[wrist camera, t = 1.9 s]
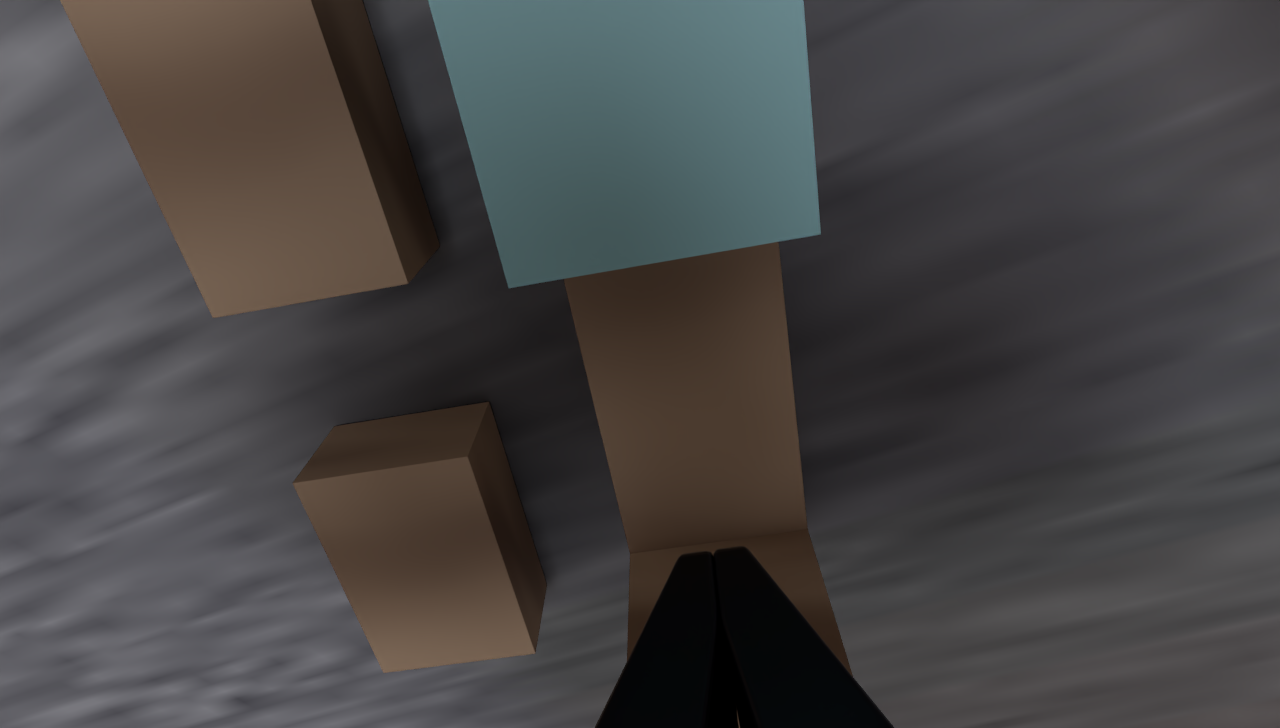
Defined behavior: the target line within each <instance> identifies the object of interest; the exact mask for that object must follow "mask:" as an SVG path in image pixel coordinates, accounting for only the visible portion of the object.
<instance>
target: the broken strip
mask: <svg viewBox="0 0 1280 728" xmlns="http://www.w3.org/2000/svg"><path fill="white" fill-rule="evenodd" d="M60 1H61V3H62V5H63V7H64V9H65V11H66V13H67V15H68V17H69V20H70V22H71V24H72V26H73V28H74V30H75V32H76V34H77V36H78V38H79V40H80V42H81V45H82V47H83V49H84V51H85V53H86V55H87V57H88V59H89V61H90V63H91V65H92V67H93V69H94V72H95V74H96V76H97V78H98V80H99V82H100V84H101V86H102V88H103V90H104V92H105V94H106V97H107V99H108V101H109V103H110V105H111V107H112V109H113V111H114V113H115V115H116V117H117V119H118V121H119V124H120V126H121V128H122V130H123V132H124V134H125V136H126V138H127V140H128V142H129V144H130V146H131V148H132V151H133V153H134V155H135V157H136V159H137V161H138V163H139V165H140V167H141V169H142V171H143V173H144V176H145V178H146V180H147V182H148V184H149V186H150V188H151V190H152V192H153V194H154V196H155V198H156V200H157V203H158V205H159V207H160V209H161V211H162V213H163V215H164V217H165V219H166V221H167V223H168V225H169V228H170V230H171V232H172V234H173V236H174V238H175V240H176V242H177V244H178V246H179V248H180V250H181V252H182V255H183V257H184V259H185V261H186V263H187V265H188V267H189V269H190V271H191V273H192V275H193V277H194V280H195V282H196V284H197V286H198V288H199V290H200V292H201V294H202V296H203V298H204V300H205V302H206V304H207V307H208V309H209V311H210V313H211V315H212V317H213V318H217V317H222V316H228V315H234V314H239V313H245V312H251V311H256V310H262V309H268V308H274V307H279V306H285V305H291V304H296V303H302V302H308V301H313V300H319V299H325V298H330V297H336V296H342V295H348V294H353V293H359V292H365V291H370V290H376V289H382V288H387V287H393V286H399V285H405V284H408V283H409V282H410V281H411V280H412V279H413V278H414V276H415V275H416V274H417V273H418V272H419V270H420V269H421V268H422V267H423V266H424V265H425V263H426V262H427V261H428V260H429V259H430V257H431V256H432V255H433V254H434V253H435V251H436V250H437V249H438V248H439V247H440V245H439V242H438V238H437V235H436V232H435V229H434V226H433V223H432V219H431V216H430V213H429V210H428V207H427V204H426V200H425V197H424V194H423V191H422V188H421V185H420V181H419V178H418V175H417V172H416V169H415V166H414V162H413V159H412V156H411V153H410V150H409V147H408V143H407V140H406V137H405V134H404V131H403V128H402V124H401V121H400V118H399V115H398V112H397V109H396V105H395V102H394V99H393V96H392V93H391V89H390V86H389V83H388V80H387V77H386V74H385V70H384V67H383V64H382V61H381V58H380V55H379V51H378V48H377V45H376V42H375V39H374V36H373V32H372V29H371V26H370V23H369V20H368V17H367V13H366V10H365V7H364V4H363V1H362V0H60ZM293 485H294V488H295V490H296V492H297V494H298V496H299V498H300V500H301V502H302V504H303V506H304V508H305V510H306V512H307V515H308V517H309V519H310V521H311V523H312V525H313V527H314V529H315V531H316V533H317V535H318V537H319V540H320V542H321V544H322V546H323V548H324V550H325V552H326V554H327V556H328V558H329V560H330V562H331V564H332V567H333V569H334V571H335V573H336V575H337V577H338V579H339V581H340V583H341V585H342V587H343V589H344V592H345V594H346V596H347V598H348V600H349V602H350V604H351V606H352V608H353V610H354V612H355V614H356V616H357V619H358V621H359V623H360V625H361V627H362V629H363V631H364V633H365V635H366V637H367V639H368V641H369V644H370V646H371V648H372V650H373V652H374V654H375V656H376V658H377V660H378V662H379V664H380V666H381V668H382V671H383V673H387V672H395V671H403V670H410V669H418V668H426V667H434V666H442V665H450V664H457V663H465V662H473V661H481V660H489V659H497V658H504V657H512V656H520V655H528V654H535V652H536V646H537V641H538V635H539V629H540V623H541V617H542V611H543V605H544V599H545V593H546V587H547V584H546V581H545V577H544V574H543V571H542V568H541V565H540V562H539V558H538V555H537V552H536V549H535V546H534V543H533V539H532V536H531V533H530V530H529V527H528V524H527V520H526V517H525V514H524V511H523V508H522V505H521V501H520V498H519V495H518V492H517V489H516V486H515V482H514V479H513V476H512V473H511V470H510V467H509V463H508V460H507V457H506V454H505V451H504V448H503V444H502V441H501V438H500V435H499V432H498V429H497V425H496V422H495V419H494V416H493V413H492V410H491V406H490V403H489V402H484V403H478V404H471V405H465V406H459V407H453V408H446V409H440V410H434V411H427V412H421V413H415V414H409V415H402V416H396V417H390V418H384V419H377V420H371V421H365V422H358V423H352V424H346V425H340V426H334V427H333V429H332V430H331V431H330V433H329V434H328V436H327V437H326V438H325V440H324V441H323V442H322V444H321V445H320V446H319V448H318V449H317V451H316V452H315V453H314V455H313V456H312V457H311V459H310V460H309V461H308V463H307V464H306V466H305V467H304V468H303V470H302V471H301V472H300V474H299V475H298V476H297V478H296V479H295V481H294V482H293Z"/></svg>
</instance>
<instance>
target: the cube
mask: <svg viewBox="0 0 1280 728" xmlns="http://www.w3.org/2000/svg"><path fill="white" fill-rule="evenodd" d="M428 2H429V6H430V9H431V13H432V16H433V20H434V24H435V27H436V31H437V34H438V38H439V41H440V45H441V49H442V52H443V56H444V59H445V63H446V66H447V70H448V74H449V77H450V81H451V84H452V88H453V91H454V95H455V99H456V102H457V106H458V109H459V113H460V116H461V120H462V124H463V127H464V131H465V134H466V138H467V141H468V145H469V149H470V152H471V156H472V159H473V163H474V167H475V170H476V174H477V177H478V181H479V184H480V188H481V192H482V195H483V199H484V202H485V206H486V209H487V213H488V217H489V220H490V224H491V227H492V231H493V234H494V238H495V242H496V245H497V249H498V252H499V256H500V259H501V263H502V267H503V270H504V274H505V277H506V281H507V284H508V288H514V287H519V286H525V285H531V284H537V283H543V282H548V281H554V280H560V279H566V278H571V277H577V276H583V275H589V274H595V273H600V272H606V271H612V270H618V269H624V268H629V267H635V266H641V265H647V264H652V263H658V262H664V261H670V260H676V259H681V258H687V257H693V256H699V255H705V254H710V253H716V252H722V251H728V250H733V249H739V248H745V247H751V246H757V245H762V244H768V243H774V242H780V241H786V240H791V239H797V238H803V237H809V236H814V235H820V234H821V229H820V216H819V202H818V189H817V175H816V162H815V148H814V135H813V121H812V108H811V95H810V81H809V68H808V54H807V41H806V27H805V14H804V1H803V0H428Z"/></svg>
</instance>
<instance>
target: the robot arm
mask: <svg viewBox="0 0 1280 728" xmlns="http://www.w3.org/2000/svg"><path fill="white" fill-rule="evenodd" d="M737 713H738V715H737ZM738 719H739V724H740V728H894V727H893V725H892V724H891V723H890V722H889V721H888V719H887V718H886V717H885V716H884V714H883V713H882V712H881V711H880V710H879V708H878V707H877V706H876V705H875V703H874V702H873V701H872V700H871V699H870V697H869V696H868V695H867V694H866V692H865V691H864V690H863V689H862V688H861V686H860V685H859V684H858V683H857V681H856V680H855V679H854V678H853V677H852V675H851V674H850V673H849V672H848V670H847V669H846V668H845V667H844V666H843V664H842V663H841V662H840V661H839V659H838V658H837V657H836V656H835V654H834V653H833V652H832V651H831V650H830V648H829V647H828V646H827V645H826V643H825V642H824V641H823V640H822V639H821V637H820V636H819V635H818V634H817V632H816V631H815V630H814V629H813V628H812V626H811V625H810V624H809V623H808V621H807V620H806V619H805V618H804V617H803V615H802V614H801V613H800V612H799V610H798V609H797V608H796V607H795V606H794V604H793V603H792V602H791V601H790V599H789V598H788V597H787V596H786V595H785V593H784V592H783V591H782V590H781V588H780V587H779V586H778V585H777V584H776V582H775V581H774V580H773V579H772V577H771V576H770V575H769V574H768V572H767V571H766V570H765V569H764V568H763V566H762V565H761V564H760V563H759V561H758V560H757V559H756V558H755V557H754V555H753V554H752V553H751V552H750V550H749V549H748V548H746V547H745V546H735V547H728V548H721V549H717V550H716V551H715V552H714V557H713V554H712V553H711V552H710V551H699V552H692V553H684V554H682V555H680V556H679V557H678V559H677V561H676V563H675V565H674V567H673V569H672V571H671V573H670V575H669V577H668V579H667V581H666V583H665V586H664V588H663V590H662V592H661V594H660V596H659V598H658V600H657V602H656V604H655V606H654V608H653V610H652V612H651V614H650V616H649V618H648V620H647V622H646V624H645V626H644V628H643V630H642V632H641V634H640V637H639V639H638V641H637V643H636V645H635V647H634V649H633V651H632V653H631V655H630V657H629V659H628V661H627V663H626V665H625V667H624V669H623V671H622V673H621V675H620V677H619V679H618V681H617V683H616V685H615V687H614V690H613V692H612V694H611V696H610V698H609V700H608V702H607V704H606V706H605V708H604V710H603V712H602V714H601V716H600V718H599V720H598V722H597V724H596V726H595V728H739V725H738Z"/></svg>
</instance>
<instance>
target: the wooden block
mask: <svg viewBox="0 0 1280 728" xmlns="http://www.w3.org/2000/svg"><path fill="white" fill-rule="evenodd" d="M564 284H565V288H566V292H567V296H568V300H569V304H570V308H571V312H572V316H573V321H574V325H575V329H576V333H577V337H578V341H579V345H580V349H581V354H582V358H583V362H584V366H585V370H586V374H587V378H588V382H589V387H590V391H591V395H592V399H593V403H594V407H595V411H596V415H597V420H598V424H599V428H600V432H601V436H602V440H603V444H604V448H605V452H606V457H607V461H608V465H609V469H610V473H611V477H612V481H613V485H614V490H615V494H616V498H617V502H618V506H619V510H620V514H621V518H622V523H623V527H624V531H625V535H626V539H627V543H628V547H629V551H630V576H629V612H628V648H627V661H628V659H629V657H630V655H631V653H632V651H633V649H634V647H635V645H636V643H637V641H638V639H639V637H640V634H641V632H642V630H643V628H644V626H645V624H646V622H647V620H648V618H649V616H650V614H651V612H652V610H653V608H654V606H655V604H656V602H657V600H658V598H659V596H660V594H661V592H662V590H663V588H664V586H665V583H666V581H667V579H668V577H669V575H670V573H671V571H672V569H673V567H674V565H675V563H676V561H677V559H678V557H679V556H680V555H682V554H684V553H692V552H699V551H710V552H711V553H712V554H713V557H714V552H715V551H716V550H717V549H721V548H728V547H735V546H745V547H746V548H748V549H749V550H750V552H751V553H752V554H753V555H754V557H755V558H756V559H757V560H758V561H759V563H760V564H761V565H762V566H763V568H764V569H765V570H766V571H767V572H768V574H769V575H770V576H771V577H772V579H773V580H774V581H775V582H776V584H777V585H778V586H779V587H780V588H781V590H782V591H783V592H784V593H785V595H786V596H787V597H788V598H789V599H790V601H791V602H792V603H793V604H794V606H795V607H796V608H797V609H798V610H799V612H800V613H801V614H802V615H803V617H804V618H805V619H806V620H807V621H808V623H809V624H810V625H811V626H812V628H813V629H814V630H815V631H816V632H817V634H818V635H819V636H820V637H821V639H822V640H823V641H824V642H825V643H826V645H827V646H828V647H829V648H830V650H831V651H832V652H833V653H834V654H835V656H836V657H837V658H838V659H839V661H840V662H841V663H842V664H843V666H844V667H845V668H846V669H847V670H848V672H849V673H850V674H851V675H852V672H851V669H850V665H849V662H848V659H847V656H846V652H845V649H844V646H843V643H842V639H841V636H840V633H839V630H838V626H837V623H836V620H835V617H834V613H833V610H832V607H831V604H830V600H829V597H828V594H827V591H826V587H825V584H824V581H823V578H822V574H821V571H820V568H819V565H818V561H817V558H816V555H815V552H814V548H813V545H812V542H811V539H810V535H809V532H808V528H807V518H806V508H805V498H804V489H803V479H802V469H801V459H800V449H799V439H798V429H797V420H796V410H795V400H794V390H793V380H792V370H791V361H790V351H789V341H788V331H787V321H786V311H785V301H784V292H783V282H782V272H781V262H780V252H779V242H774V243H768V244H762V245H757V246H751V247H745V248H739V249H733V250H728V251H722V252H716V253H710V254H705V255H699V256H693V257H687V258H681V259H676V260H670V261H664V262H658V263H652V264H647V265H641V266H635V267H629V268H624V269H618V270H612V271H606V272H600V273H595V274H589V275H583V276H577V277H571V278H566V279H564ZM852 677H853V675H852ZM737 715H738V713H737ZM738 725H739V728H740V724H739V719H738Z"/></svg>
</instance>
